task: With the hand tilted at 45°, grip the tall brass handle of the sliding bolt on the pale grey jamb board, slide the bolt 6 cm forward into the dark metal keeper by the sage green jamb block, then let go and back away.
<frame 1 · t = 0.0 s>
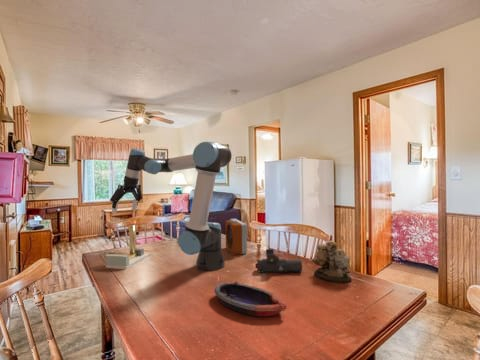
hand: (124, 212, 154), 28 cm above the table, tool tilted 20°, fingers open, 13 cm apart
jamb board: (128, 261, 153), on the table
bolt: (132, 241, 156), point 11 cm above the table, slide at 0.0 cm
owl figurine: (331, 277, 127), on the table
dish: (247, 306, 100), on the table
alarm clock: (235, 251, 172), on the table
laser sight: (278, 272, 135), on the table
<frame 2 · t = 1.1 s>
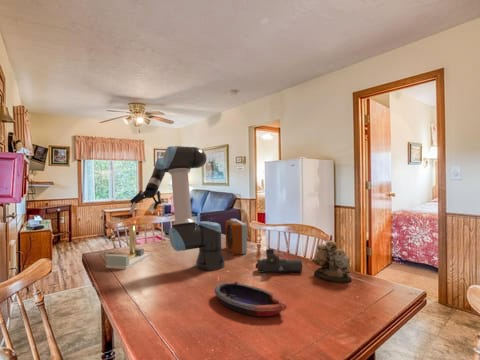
hand: (141, 212, 165), 26 cm above the table, tool tilted 45°, fingers open, 13 cm apart
nothing on the table moved.
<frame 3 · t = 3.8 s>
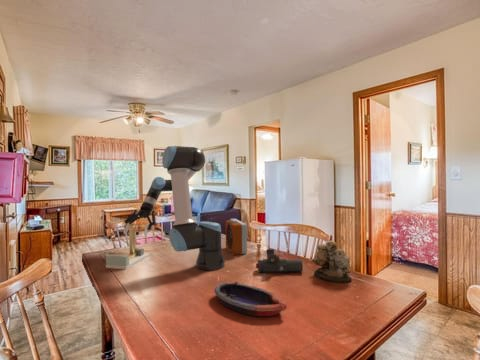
hand: (134, 233, 160), 14 cm above the table, tool tilted 45°, fingers open, 13 cm apart
nothing on the table moved.
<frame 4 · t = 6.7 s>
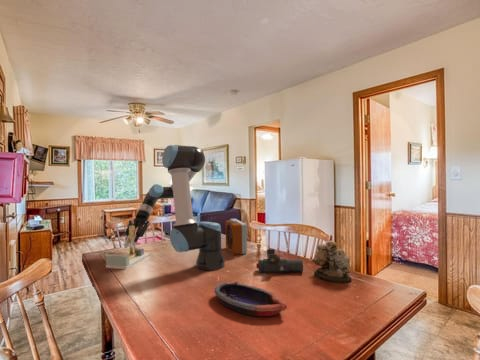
hand: (128, 246, 152), 9 cm above the table, tool tilted 45°, fingers closed on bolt, 3 cm apart
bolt: (132, 241, 156), point 11 cm above the table, slide at 0.0 cm, touching gripper
everything else where it was.
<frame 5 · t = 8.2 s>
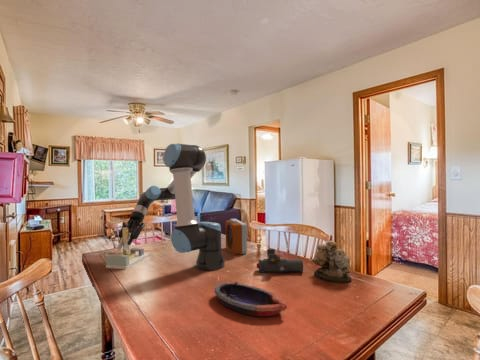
hand: (121, 249, 146), 9 cm above the table, tool tilted 45°, fingers closed on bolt, 3 cm apart
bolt: (126, 243, 151), point 11 cm above the table, slide at 5.9 cm, touching gripper
everything else where it was.
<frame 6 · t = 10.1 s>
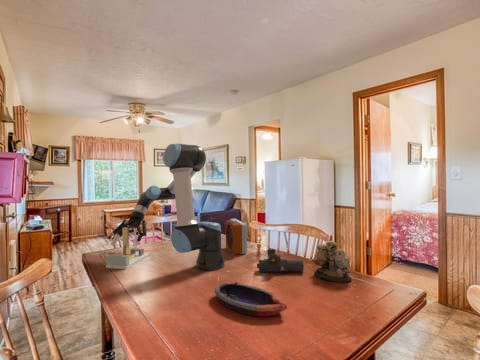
hand: (123, 245, 148), 10 cm above the table, tool tilted 45°, fingers open, 13 cm apart
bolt: (126, 243, 150), point 11 cm above the table, slide at 6.0 cm
everything else where it was.
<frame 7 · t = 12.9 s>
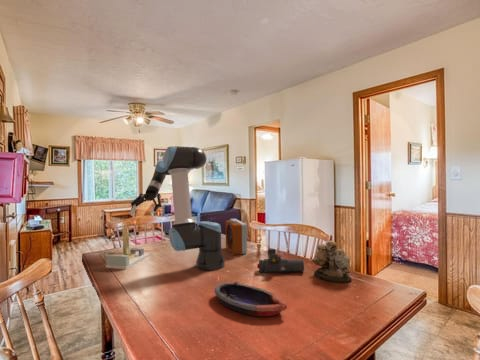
hand: (141, 215, 165), 24 cm above the table, tool tilted 45°, fingers open, 13 cm apart
nothing on the table moved.
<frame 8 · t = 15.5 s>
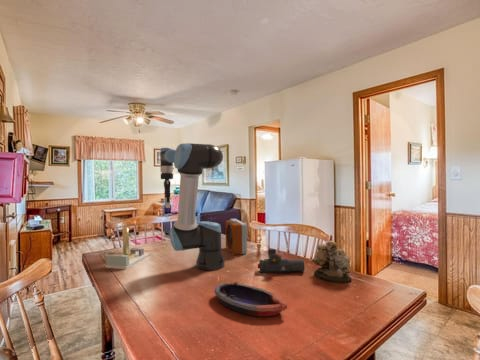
hand: (167, 206, 170), 29 cm above the table, tool pointing down, fingers open, 13 cm apart
at the end: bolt slide at 6.0 cm; the gripper is holding nothing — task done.
